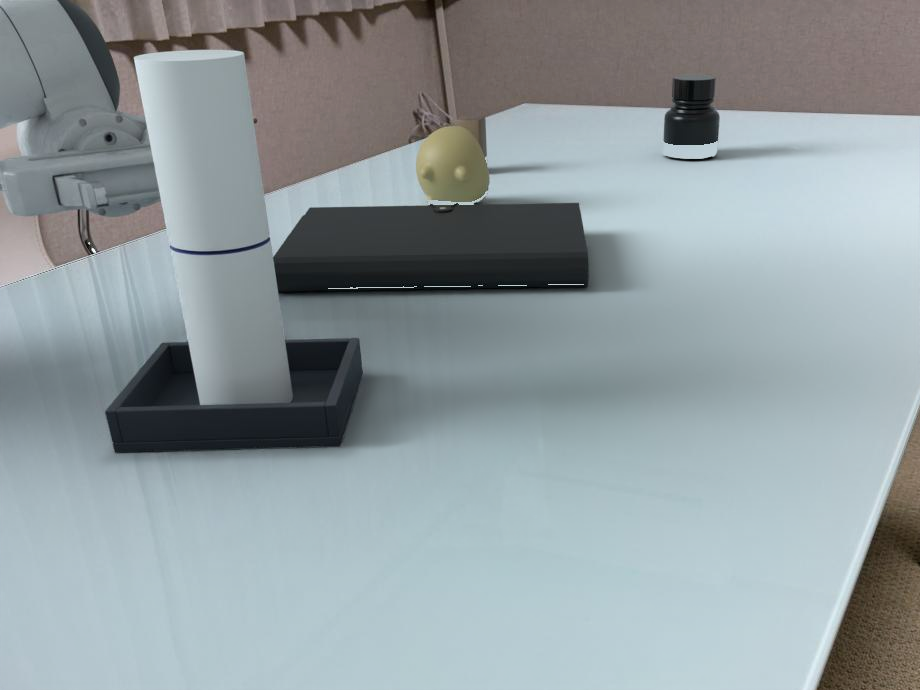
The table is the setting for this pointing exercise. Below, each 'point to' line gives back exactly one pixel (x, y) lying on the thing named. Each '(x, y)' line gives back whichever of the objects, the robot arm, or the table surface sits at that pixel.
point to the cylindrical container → (216, 222)
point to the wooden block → (475, 129)
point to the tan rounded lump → (452, 166)
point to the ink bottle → (692, 112)
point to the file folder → (434, 247)
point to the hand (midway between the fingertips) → (157, 188)
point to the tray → (238, 425)
